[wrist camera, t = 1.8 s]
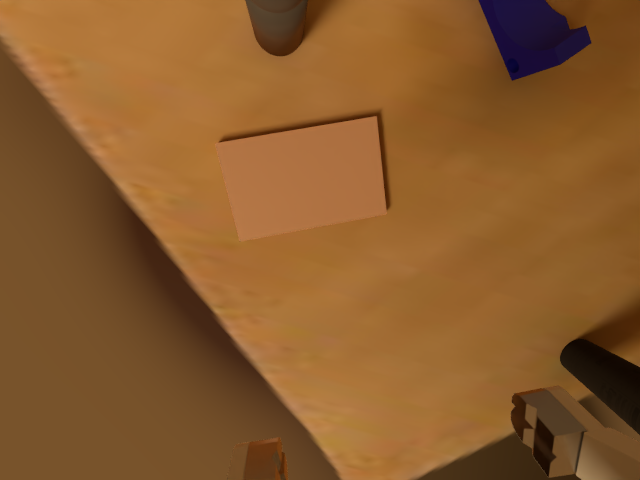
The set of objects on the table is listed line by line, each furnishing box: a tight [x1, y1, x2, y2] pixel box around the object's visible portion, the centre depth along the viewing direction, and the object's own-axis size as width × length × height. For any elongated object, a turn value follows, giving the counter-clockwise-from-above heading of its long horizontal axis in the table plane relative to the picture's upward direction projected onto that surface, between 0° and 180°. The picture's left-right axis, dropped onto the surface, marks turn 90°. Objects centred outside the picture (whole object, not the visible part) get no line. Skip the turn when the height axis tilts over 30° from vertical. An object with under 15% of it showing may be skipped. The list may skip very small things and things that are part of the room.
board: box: [215, 116, 387, 241], centre depth 31 cm, size 16×10×1 cm, turn 99°
